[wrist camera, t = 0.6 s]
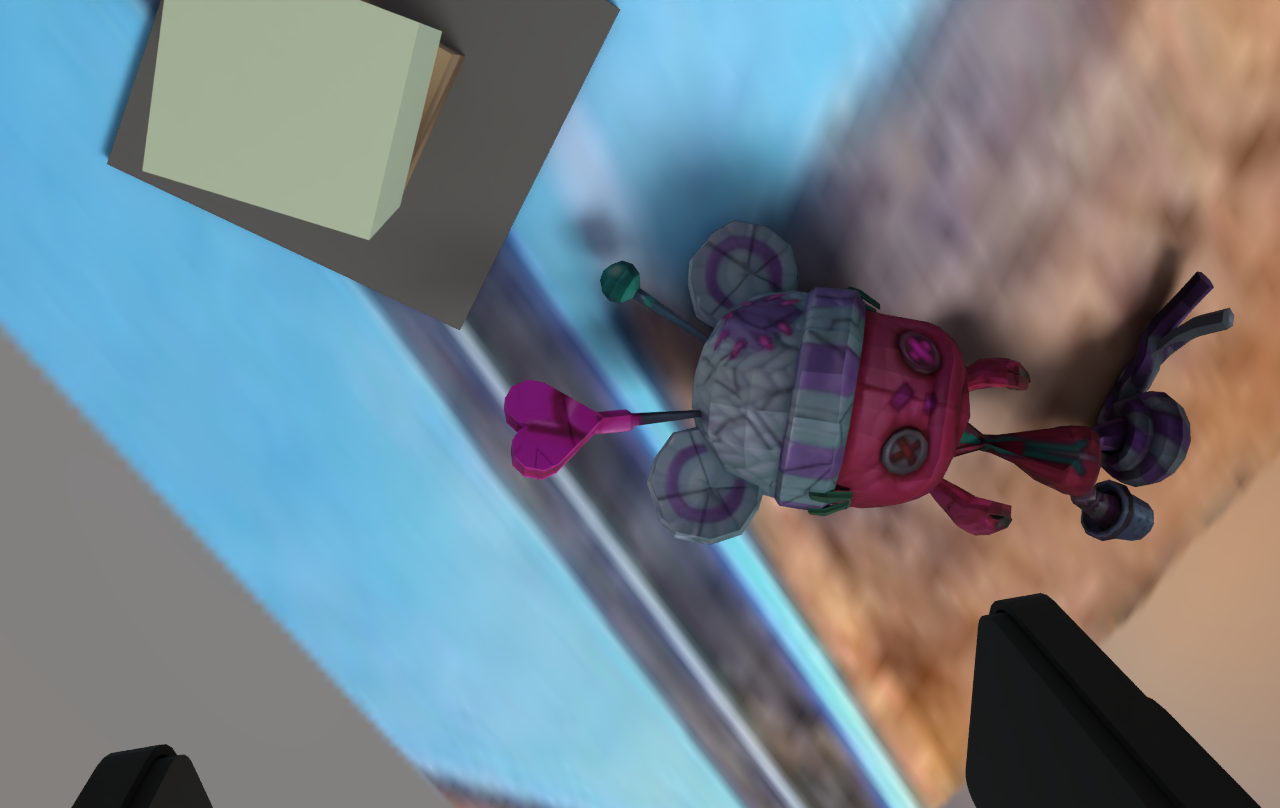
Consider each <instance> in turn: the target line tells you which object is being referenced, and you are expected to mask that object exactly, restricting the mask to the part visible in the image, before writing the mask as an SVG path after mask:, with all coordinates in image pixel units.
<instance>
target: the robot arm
mask: <svg viewBox="0 0 1280 808" xmlns="http://www.w3.org/2000/svg"><path fill="white" fill-rule="evenodd" d="M966 781H967V786H968V789H969V793H970V795H971V798H972V800H973V802H974V804H975V806H976V808H1261V807H1260V806H1259V805H1258V804H1257V803H1256V802H1255V801H1254V800H1253V799H1252V798H1251V797H1250V796H1249V795H1248V794H1247V793H1246V792H1245V790H1244V789H1243V788H1242V787H1241V786H1240V785H1239V784H1238V783H1236V781H1235V780H1234V779H1233V778H1232V777H1231V776H1230V775H1229V774H1228V773H1227V772H1226V771H1225V770H1224V769H1223V768H1222V767H1221V766H1220V765H1219V764H1218V763H1217V762H1216V761H1215V760H1214V759H1213V758H1212V757H1211V756H1210V755H1209V754H1208V753H1207V752H1206V751H1205V750H1204V749H1203V748H1202V747H1201V746H1200V745H1199V744H1198V742H1197V741H1196V740H1195V739H1194V738H1193V737H1192V736H1191V735H1190V734H1189V733H1188V732H1187V731H1186V730H1185V729H1184V728H1183V727H1182V726H1181V725H1180V724H1179V723H1178V722H1177V721H1176V720H1175V719H1174V718H1173V717H1172V716H1171V715H1170V714H1169V713H1168V712H1167V711H1166V710H1165V709H1164V708H1163V707H1161V706H1160V705H1159V704H1158V703H1156V701H1154V700H1153V699H1151V698H1149V697H1147V696H1146V695H1144V693H1143V692H1142V691H1141V690H1140V689H1139V688H1138V687H1137V686H1136V685H1135V684H1134V683H1133V682H1132V681H1131V680H1130V679H1129V678H1128V677H1127V676H1126V675H1125V674H1124V673H1123V672H1122V671H1121V670H1120V669H1119V668H1118V666H1117V665H1116V664H1115V663H1114V662H1113V661H1112V660H1111V659H1110V658H1109V657H1108V656H1107V655H1106V654H1105V653H1104V652H1103V651H1102V650H1101V649H1100V648H1099V647H1098V646H1097V645H1096V644H1095V643H1094V642H1093V641H1092V640H1091V639H1090V638H1089V637H1088V635H1087V634H1086V633H1085V632H1084V631H1083V630H1082V629H1081V628H1080V627H1079V626H1078V625H1077V624H1076V623H1075V622H1074V621H1073V620H1072V619H1071V618H1070V617H1069V616H1068V615H1067V614H1066V613H1065V612H1064V611H1063V610H1062V609H1061V608H1060V607H1059V606H1058V604H1057V603H1056V602H1055V601H1054V600H1052V599H1051V598H1050V597H1049V596H1047V595H1045V594H1042V593H1038V594H1033V595H1027V596H1021V597H1015V598H1009V599H1004V600H998V601H995V602H994V603H993V604H992V606H991V608H990V612H989V615H985V616H982V617H981V618H980V620H979V624H978V634H977V646H976V657H975V669H974V680H973V692H972V703H971V715H970V726H969V738H968V749H967V761H966ZM72 808H213V807H212V805H211V802H210V800H209V798H208V796H207V794H206V792H205V790H204V788H203V785H202V783H201V781H200V779H199V777H198V774H197V772H196V770H195V768H194V766H193V764H192V762H191V760H190V759H189V757H187V756H186V755H177V754H176V753H175V751H174V750H173V748H172V747H170V746H168V745H167V744H164V745H156V746H150V747H145V748H138V749H133V750H127V751H121V752H115V753H111V754H109V755H107V756H106V757H104V758H103V759H102V760H101V762H100V763H99V764H98V765H97V767H96V769H95V770H94V772H93V773H92V775H91V777H90V778H89V780H88V782H87V783H86V785H85V786H84V788H83V790H82V792H81V793H80V795H79V796H78V798H77V800H76V801H75V803H74V805H73V806H72Z"/></svg>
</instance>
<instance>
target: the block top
mask: <svg viewBox="0 0 1280 808" xmlns="http://www.w3.org/2000/svg"><path fill="white" fill-rule="evenodd" d="M441 34H442V31H439V30H437V29H434V28H432V27H429V26H426V25H424V24H421V23H419V22H416V21H413V20H411V19H408V18H405V17H403V16H400V15H397V14H395V13H392V12H390V11H387V10H384V9H382V8H379V7H376V6H374V5H371V4H368V3H366V2H363V1H360V0H164V5H163V13H162V21H161V29H160V37H159V44H158V52H157V60H156V68H155V76H154V84H153V91H152V99H151V107H150V115H149V123H148V131H147V138H146V146H145V154H144V162H143V170H142V171H145V172H148V173H151V174H154V175H158V176H161V177H164V178H167V179H171V180H174V181H177V182H180V183H184V184H187V185H190V186H194V187H197V188H200V189H203V190H207V191H210V192H213V193H216V194H220V195H223V196H226V197H229V198H233V199H236V200H239V201H243V202H246V203H249V204H252V205H256V206H259V207H262V208H265V209H269V210H272V211H275V212H278V213H282V214H285V215H288V216H292V217H295V218H298V219H301V220H305V221H308V222H311V223H314V224H318V225H321V226H324V227H327V228H331V229H334V230H337V231H341V232H344V233H347V234H350V235H354V236H357V237H360V238H363V239H367V240H370V239H371V238H372V237H373V235H374V234H375V233H376V232H377V231H378V230H379V229H380V228H381V227H382V226H383V224H384V223H385V222H386V221H387V220H388V219H389V218H390V217H391V216H392V215H393V213H394V212H395V211H396V210H397V209H398V208H399V207H400V204H401V200H402V196H403V192H404V188H405V184H406V179H407V175H408V171H409V167H410V163H411V159H412V154H413V150H414V146H415V142H416V138H417V134H418V130H419V125H420V121H421V117H422V113H423V109H424V105H425V101H426V96H427V92H428V88H429V84H430V80H431V76H432V71H433V67H434V63H435V59H436V55H437V51H438V47H439V42H440V38H441Z"/></svg>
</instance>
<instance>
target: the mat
mask: <svg viewBox="0 0 1280 808" xmlns="http://www.w3.org/2000/svg"><path fill="white" fill-rule="evenodd" d="M369 1H371V2H373V3H375V4H376V5H378V6H380V7H381V8H383V9H385V10H387V11H390V12H392V13H395V14H397V15H400V16H403V17H405V18H408V19H411V20H413V21H416V22H419V23H421V24H424V25H426V26H429V27H432V28H434V29H437V30H439V31H442V34H441V38H440V42H442V43H443V44H445V45H447V46H448V47H450V48H452V49H454V50H455V51H457V52H459V53H460V54H462V55H464V56H465V57H464V60H463V62H462V64H461V66H460V69H459V71H458V73H457V75H456V77H455V80H454V82H453V84H452V86H451V89H450V91H449V93H448V95H447V97H446V100H445V102H444V104H443V106H442V109H441V111H440V113H439V115H438V117H437V120H436V122H435V124H434V126H433V128H432V131H431V133H430V135H429V137H428V140H427V142H426V144H425V146H424V148H423V151H422V153H421V155H420V157H419V160H418V162H417V164H416V166H415V168H414V171H413V173H412V175H411V177H410V180H409V182H408V184H407V186H406V188H405V190H404V192H403V196H402V200H401V204H400V207H399V208H398V209H397V210H396V211H395V212H394V213H393V215H392V216H391V217H390V218H389V219H388V220H387V221H386V222H385V223H384V224H383V226H382V227H381V228H380V229H379V230H378V231H377V232H376V233H375V234H374V235H373V237H372V238H371V239H370V240H367V239H363V238H360V237H357V236H354V235H350V234H347V233H344V232H341V231H337V230H334V229H331V228H327V227H324V226H321V225H318V224H314V223H311V222H308V221H305V220H301V219H298V218H295V217H292V216H288V215H285V214H282V213H278V212H275V211H272V210H269V209H265V208H262V207H259V206H256V205H252V204H249V203H246V202H243V201H239V200H236V199H233V198H229V197H226V196H223V195H220V194H216V193H213V192H210V191H207V190H203V189H200V188H197V187H194V186H190V185H187V184H184V183H180V182H177V181H174V180H171V179H167V178H164V177H161V176H158V175H154V174H151V173H148V172H145V171H142V170H143V162H144V154H145V146H146V138H147V131H148V123H149V115H150V107H151V99H152V91H153V84H154V76H155V68H156V60H157V52H158V44H159V37H160V29H161V21H162V13H163V5H164V0H161V1H160V4H159V7H158V10H157V14H156V17H155V20H154V23H153V26H152V29H151V32H150V35H149V38H148V41H147V44H146V47H145V50H144V53H143V56H142V59H141V62H140V65H139V68H138V71H137V74H136V77H135V80H134V83H133V86H132V90H131V93H130V96H129V99H128V102H127V105H126V108H125V111H124V114H123V117H122V120H121V123H120V126H119V129H118V132H117V135H116V138H115V141H114V144H113V147H112V150H111V153H110V156H109V159H108V162H107V164H108V165H110V166H112V167H114V168H117V169H119V170H121V171H123V172H125V173H127V174H129V175H131V176H134V177H136V178H138V179H140V180H142V181H144V182H146V183H148V184H150V185H153V186H155V187H157V188H159V189H161V190H163V191H165V192H167V193H170V194H172V195H174V196H176V197H178V198H180V199H182V200H184V201H187V202H189V203H191V204H193V205H195V206H197V207H199V208H201V209H204V210H206V211H208V212H210V213H212V214H214V215H216V216H218V217H221V218H223V219H225V220H227V221H229V222H231V223H233V224H235V225H237V226H240V227H242V228H244V229H246V230H248V231H250V232H252V233H254V234H257V235H259V236H261V237H263V238H265V239H267V240H269V241H271V242H274V243H276V244H278V245H280V246H282V247H284V248H286V249H288V250H291V251H293V252H295V253H297V254H299V255H301V256H303V257H305V258H308V259H310V260H312V261H314V262H316V263H318V264H320V265H322V266H324V267H327V268H329V269H331V270H333V271H335V272H337V273H339V274H341V275H344V276H346V277H348V278H350V279H352V280H354V281H356V282H358V283H361V284H363V285H365V286H367V287H369V288H371V289H373V290H375V291H378V292H380V293H382V294H384V295H386V296H388V297H390V298H392V299H395V300H397V301H399V302H401V303H403V304H405V305H407V306H409V307H412V308H414V309H416V310H418V311H420V312H422V313H424V314H426V315H428V316H431V317H433V318H435V319H437V320H439V321H441V322H443V323H445V324H448V325H450V326H452V327H454V328H456V329H458V330H460V329H461V327H462V325H463V323H464V321H465V319H466V317H467V315H468V313H469V311H470V309H471V307H472V305H473V303H474V301H475V299H476V297H477V295H478V293H479V291H480V289H481V287H482V285H483V283H484V281H485V279H486V277H487V275H488V273H489V271H490V269H491V267H492V265H493V263H494V261H495V259H496V257H497V255H498V253H499V251H500V249H501V247H502V245H503V243H504V241H505V239H506V237H507V235H508V233H509V231H510V229H511V227H512V225H513V223H514V221H515V219H516V217H517V215H518V213H519V211H520V209H521V207H522V205H523V203H524V201H525V199H526V197H527V195H528V193H529V191H530V189H531V187H532V185H533V183H534V181H535V179H536V177H537V175H538V173H539V171H540V169H541V167H542V165H543V163H544V161H545V159H546V157H547V155H548V153H549V151H550V149H551V147H552V145H553V143H554V141H555V139H556V137H557V135H558V133H559V131H560V129H561V127H562V125H563V123H564V121H565V119H566V117H567V115H568V113H569V111H570V109H571V107H572V105H573V103H574V101H575V99H576V97H577V95H578V93H579V91H580V89H581V87H582V85H583V83H584V81H585V79H586V77H587V75H588V73H589V71H590V69H591V67H592V65H593V63H594V61H595V59H596V57H597V55H598V53H599V51H600V49H601V47H602V45H603V43H604V41H605V39H606V37H607V35H608V33H609V31H610V29H611V27H612V25H613V23H614V21H615V19H616V17H617V15H618V13H619V11H620V9H619V8H617V7H615V6H614V5H612V4H611V3H609V2H608V1H606V0H369Z"/></svg>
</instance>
